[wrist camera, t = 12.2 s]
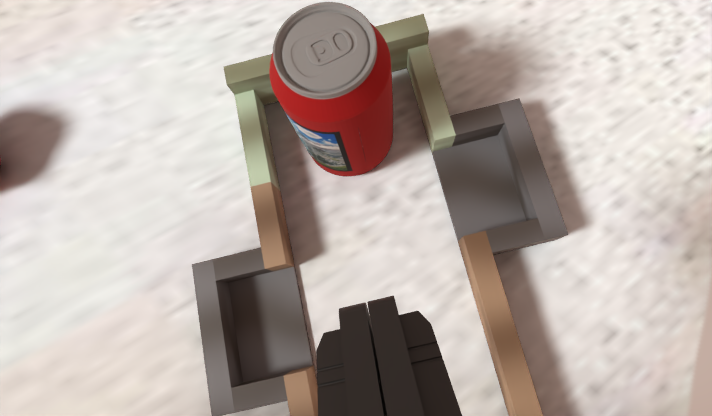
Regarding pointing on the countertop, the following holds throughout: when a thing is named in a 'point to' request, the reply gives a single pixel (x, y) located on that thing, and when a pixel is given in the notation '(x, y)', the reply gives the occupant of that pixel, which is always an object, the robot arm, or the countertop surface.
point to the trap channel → (466, 207)
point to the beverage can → (335, 86)
